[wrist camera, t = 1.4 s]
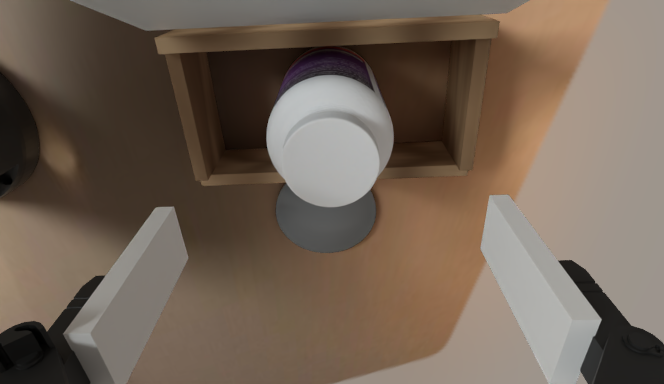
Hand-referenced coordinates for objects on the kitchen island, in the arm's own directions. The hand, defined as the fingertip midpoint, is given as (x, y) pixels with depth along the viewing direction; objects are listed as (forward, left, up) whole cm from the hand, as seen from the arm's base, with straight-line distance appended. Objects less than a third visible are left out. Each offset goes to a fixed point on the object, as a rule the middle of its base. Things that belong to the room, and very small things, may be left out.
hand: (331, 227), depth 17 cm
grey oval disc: (-1, -12, -20) cm, 24 cm away
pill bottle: (0, 0, -21) cm, 21 cm away
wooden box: (0, 0, -20) cm, 20 cm away
